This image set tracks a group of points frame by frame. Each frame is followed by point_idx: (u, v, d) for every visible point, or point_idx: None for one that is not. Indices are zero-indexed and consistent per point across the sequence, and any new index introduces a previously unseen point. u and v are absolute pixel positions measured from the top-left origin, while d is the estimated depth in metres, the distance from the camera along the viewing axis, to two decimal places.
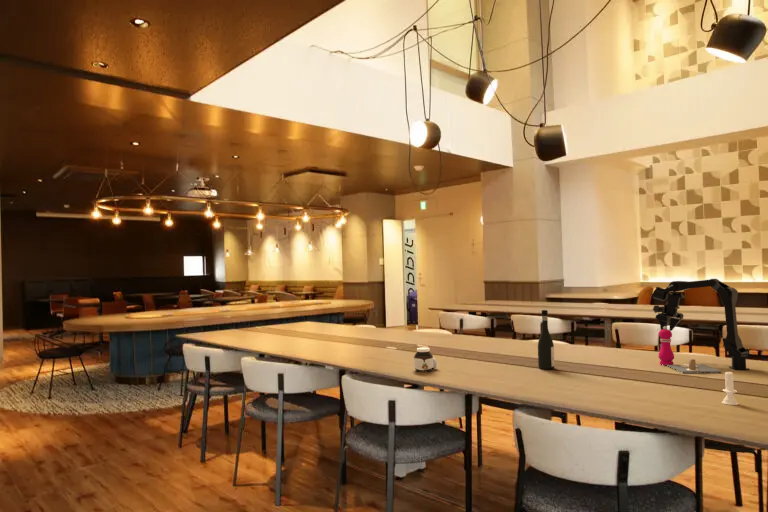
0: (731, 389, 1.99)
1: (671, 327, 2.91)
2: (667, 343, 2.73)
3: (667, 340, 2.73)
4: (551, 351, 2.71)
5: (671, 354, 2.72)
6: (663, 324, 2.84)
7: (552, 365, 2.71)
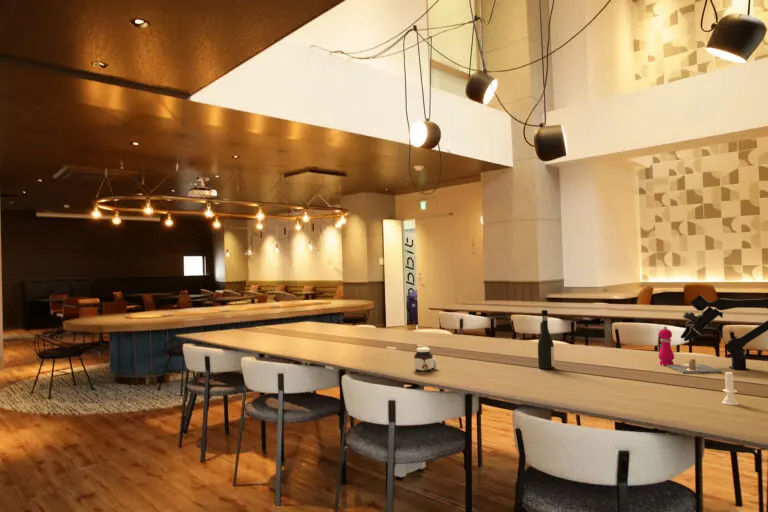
0: (731, 389, 1.99)
1: (684, 335, 2.76)
2: (667, 343, 2.73)
3: (667, 340, 2.73)
4: (551, 351, 2.71)
5: (671, 354, 2.72)
6: (692, 335, 2.66)
7: (552, 365, 2.71)
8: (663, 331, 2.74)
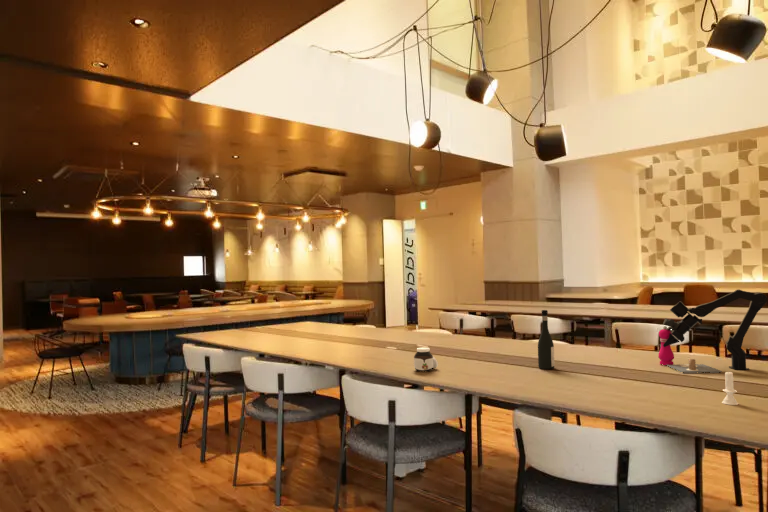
0: (731, 389, 1.99)
1: None
2: None
3: None
4: (551, 351, 2.71)
5: (671, 354, 2.72)
6: (671, 340, 2.71)
7: (552, 365, 2.71)
8: (663, 331, 2.74)
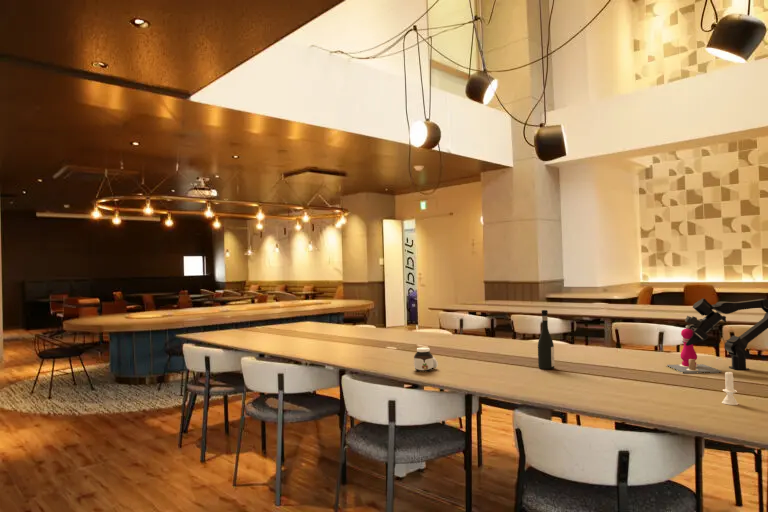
0: (731, 389, 1.99)
1: None
2: None
3: None
4: (551, 351, 2.71)
5: (694, 354, 2.63)
6: (694, 339, 2.60)
7: (552, 365, 2.71)
8: (686, 330, 2.65)
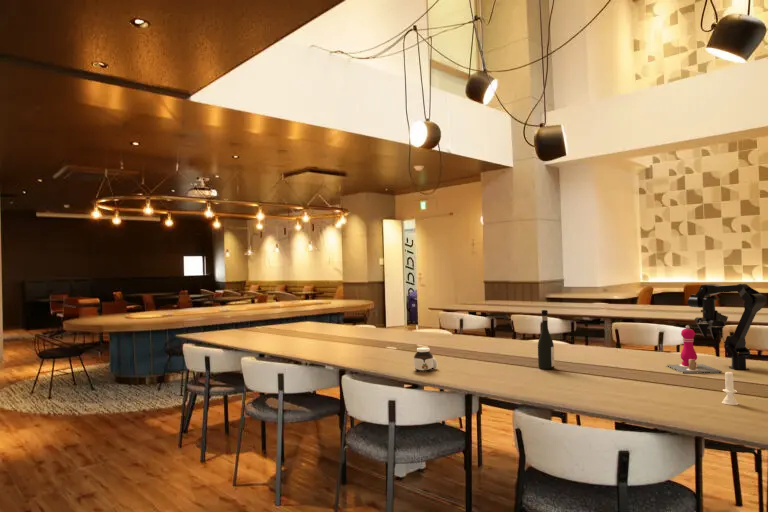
0: (731, 389, 1.99)
1: None
2: (690, 343, 2.64)
3: (690, 340, 2.64)
4: (551, 351, 2.71)
5: (694, 354, 2.63)
6: None
7: (552, 365, 2.71)
8: (686, 330, 2.65)
